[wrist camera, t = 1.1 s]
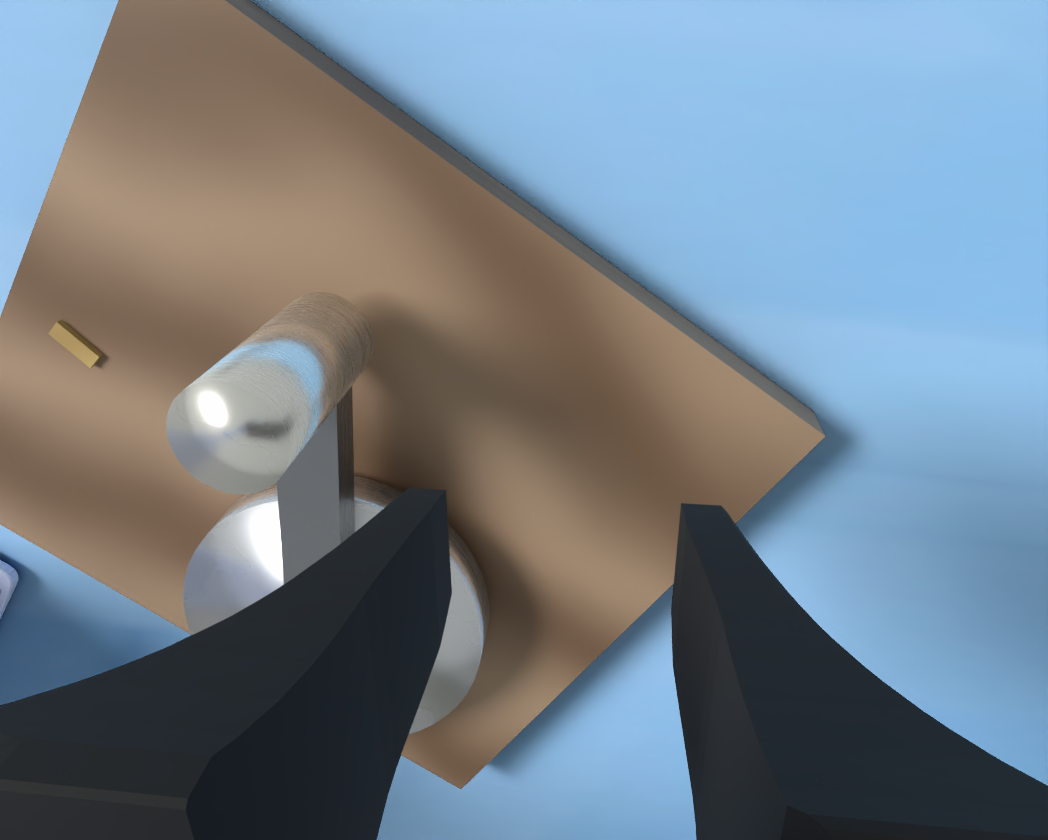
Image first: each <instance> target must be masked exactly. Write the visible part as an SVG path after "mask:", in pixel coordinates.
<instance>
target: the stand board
mask: <svg viewBox="0 0 1048 840" xmlns="http://www.w3.org/2000/svg"><path fill="white" fill-rule="evenodd" d="M313 292H326V293H332V294H335V295H338V296H340V297H342V298H344V299H346V300H348V301H349V302H351V303H352V304H353V305H355V306H356V307H357V308H358V309H359V310H360V311H361V313H362V314H363V315H364V317H365V318H366V320H367V322H368V324H369V326H370V328H371V331H372V335H373V353H372V357H371V360H370V362H369V364H368V365H367V367H366V368H365V369H364V371H363V372H362V373H361V375H360V376H359V377H358V378H357V380H356V381H355V382H354V384H353V385H352V398H353V451H354V476H359V477H364V478H367V479H370V480H374V481H377V482H380V483H383V484H386V485H388V486H390V487H393V488H395V489H397V490H400V491H402V492H404V491H406V490H407V489H408V488H420V489H438V490H446V499H447V516H448V524H449V525H450V526H451V527H452V528H453V530H454V531H455V532H456V533H457V534H458V535H459V536H460V538H461V539H462V540H463V541H464V543H465V544H466V546H467V547H468V549H469V550H470V552H471V553H472V555H473V556H474V558H475V560H476V562H477V564H478V566H479V568H480V570H481V572H482V575H483V578H484V582H485V585H486V588H487V594H488V600H489V623H488V629H487V634H486V639H485V643H484V647H483V651H482V655H481V660H480V664H479V668H478V671H477V674H476V677H475V679H474V682H473V684H472V686H471V687H470V689H469V691H468V693H467V695H466V696H465V697H464V698H463V699H462V701H461V702H460V703H459V704H458V706H457V707H456V708H454V709H453V710H452V711H451V712H450V713H449V714H448V715H447V716H445V717H444V718H442V719H441V720H439V721H438V722H436V723H435V724H433V725H431V726H429V727H427V728H425V729H423V730H421V731H418V732H415V733H412V734H409V735H408V737H407V740H406V743H405V745H404V748H403V751H402V754H401V755H402V756H404V757H406V758H407V759H409V760H411V761H413V762H414V763H416V764H418V765H420V766H421V767H423V768H425V769H426V770H428V771H430V772H432V773H433V774H435V775H437V776H439V777H440V778H442V779H444V780H446V781H447V782H449V783H451V784H453V785H454V786H456V787H458V788H460V789H462V788H463V787H464V786H465V785H466V784H467V783H468V782H469V781H470V780H471V779H472V778H473V777H474V776H475V775H476V774H477V773H478V772H479V771H481V770H482V769H483V768H484V767H485V766H486V765H487V764H488V763H489V762H490V761H491V760H492V759H493V758H494V757H495V756H496V755H497V754H498V753H499V752H500V751H501V750H502V749H503V748H504V747H505V746H506V745H507V744H508V743H509V742H510V741H511V740H513V739H514V738H515V737H516V736H517V735H518V734H519V733H520V732H521V731H522V730H523V729H524V728H525V727H526V726H527V725H528V724H529V723H530V722H531V721H532V720H533V719H534V718H535V717H536V716H537V715H538V714H539V713H540V712H541V711H542V710H544V709H545V708H546V707H547V706H548V705H549V704H550V703H551V702H552V701H553V700H554V699H555V698H556V697H557V696H558V695H559V694H560V693H561V692H562V691H563V690H564V689H565V688H566V687H567V686H568V685H569V684H570V683H571V682H572V681H573V680H574V679H576V678H577V677H578V676H579V675H580V674H581V673H582V672H583V671H584V670H585V669H586V668H587V667H588V666H589V665H590V664H591V663H592V662H593V661H594V660H595V659H596V658H597V657H598V656H599V655H600V654H601V653H602V652H603V651H604V650H605V649H606V648H608V647H609V646H610V645H611V644H612V643H613V642H614V641H615V640H616V639H617V638H618V637H619V636H620V635H621V634H622V633H623V632H624V631H625V630H626V629H627V628H628V627H629V626H630V625H631V624H632V623H633V622H634V621H635V620H636V619H637V618H638V617H640V616H641V615H642V614H643V613H644V612H645V611H646V610H647V609H648V608H649V607H650V606H651V605H652V604H653V603H654V602H655V601H656V600H657V599H658V598H659V597H660V596H661V595H662V594H663V593H664V592H665V591H666V590H667V589H668V588H669V587H670V586H672V585H673V584H674V574H675V564H676V553H677V542H678V531H679V521H680V510H681V503H686V504H704V505H721V506H722V507H723V508H724V509H725V510H726V511H727V512H728V514H729V515H730V517H731V518H732V520H733V521H734V523H735V524H736V523H737V522H738V521H739V520H740V519H741V518H742V517H743V516H744V515H745V514H746V513H747V512H748V511H749V510H750V509H751V508H752V507H753V506H754V505H755V504H756V503H757V502H758V501H759V500H760V499H761V498H762V497H763V496H764V495H765V494H766V493H768V492H769V491H770V490H771V489H772V488H773V487H774V486H775V485H776V484H777V483H778V482H779V481H780V480H781V479H782V478H783V477H784V476H785V475H786V474H787V473H788V472H789V471H790V470H791V469H792V468H793V467H794V466H795V465H796V464H797V463H798V462H800V461H801V460H802V459H803V458H804V457H805V456H806V455H807V454H808V453H809V452H810V451H811V450H812V449H813V448H814V447H815V446H816V445H817V444H818V443H819V442H820V441H821V440H822V439H823V438H824V437H825V434H824V432H823V430H822V428H821V426H820V424H819V422H818V420H817V417H816V415H815V413H814V412H813V411H812V410H811V409H809V408H808V407H807V406H805V405H804V404H802V403H801V402H800V401H798V400H797V399H796V398H794V397H793V396H791V395H790V394H789V393H787V392H786V391H785V390H783V389H782V388H781V387H779V386H778V385H776V384H775V383H774V382H772V381H771V380H770V379H768V378H767V377H765V376H764V375H763V374H761V373H760V372H759V371H757V370H756V369H755V368H753V367H752V366H750V365H749V364H748V363H746V362H745V361H744V360H742V359H741V358H739V357H738V356H737V355H735V354H734V353H733V352H731V351H730V350H729V349H727V348H726V347H724V346H723V345H722V344H720V343H719V342H718V341H716V340H715V339H713V338H712V337H711V336H709V335H708V334H707V333H705V332H704V331H703V330H701V329H700V328H698V327H697V326H696V325H694V324H693V323H692V322H690V321H689V320H687V319H686V318H685V317H683V316H682V315H681V314H679V313H678V312H676V311H675V310H674V309H672V308H671V307H670V306H668V305H667V304H666V303H664V302H663V301H661V300H660V299H659V298H657V297H656V296H655V295H653V294H652V293H650V292H649V291H648V290H646V289H645V288H644V287H642V286H641V285H640V284H638V283H637V282H635V281H634V280H633V279H631V278H630V277H629V276H627V275H626V274H624V273H623V272H622V271H620V270H619V269H618V268H616V267H615V266H614V265H612V264H611V263H609V262H608V261H607V260H605V259H604V258H603V257H601V256H600V255H598V254H597V253H596V252H594V251H593V250H592V249H590V248H589V247H588V246H586V245H585V244H583V243H582V242H581V241H579V240H578V239H577V238H575V237H574V236H572V235H571V234H570V233H568V232H567V231H566V230H564V229H563V228H561V227H560V226H559V225H557V224H556V223H555V222H553V221H552V220H551V219H549V218H548V217H546V216H545V215H544V214H542V213H541V212H540V211H538V210H537V209H535V208H534V207H533V206H531V205H530V204H529V203H527V202H526V201H525V200H523V199H522V198H520V197H519V196H518V195H516V194H515V193H514V192H512V191H511V190H509V189H508V188H507V187H505V186H504V185H503V184H501V183H500V182H499V181H497V180H496V179H494V178H493V177H492V176H490V175H489V174H488V173H486V172H485V171H483V170H482V169H481V168H479V167H478V166H477V165H475V164H474V163H473V162H471V161H470V160H468V159H467V158H466V157H464V156H463V155H462V154H460V153H459V152H457V151H456V150H455V149H453V148H452V147H451V146H449V145H448V144H447V143H445V142H444V141H442V140H441V139H440V138H438V137H437V136H436V135H434V134H433V133H431V132H430V131H429V130H427V129H426V128H425V127H423V126H422V125H420V124H419V123H418V122H416V121H415V120H414V119H412V118H411V117H410V116H408V115H407V114H405V113H404V112H403V111H401V110H400V109H399V108H397V107H396V106H394V105H393V104H392V103H390V102H389V101H388V100H386V99H385V98H384V97H382V96H381V95H379V94H378V93H377V92H375V91H374V90H373V89H371V88H370V87H368V86H367V85H366V84H364V83H363V82H362V81H360V80H359V79H358V78H356V77H355V76H353V75H352V74H351V73H349V72H348V71H347V70H345V69H344V68H342V67H341V66H340V65H338V64H337V63H336V62H334V61H333V60H332V59H330V58H329V57H327V56H326V55H325V54H323V53H322V52H321V51H319V50H318V49H316V48H315V47H314V46H312V45H311V44H310V43H308V42H307V41H305V40H304V39H303V38H301V37H300V36H299V35H297V34H296V33H295V32H293V31H292V30H290V29H289V28H288V27H286V26H285V25H284V24H282V23H281V22H279V21H278V20H277V19H275V18H274V17H273V16H271V15H270V14H269V13H267V12H266V11H264V10H263V9H262V8H260V7H259V6H258V5H256V4H255V3H253V2H252V1H251V0H119V1H118V4H117V6H116V9H115V12H114V14H113V17H112V20H111V22H110V25H109V28H108V30H107V33H106V36H105V39H104V41H103V44H102V47H101V49H100V52H99V55H98V57H97V60H96V63H95V65H94V68H93V71H92V73H91V76H90V79H89V81H88V84H87V87H86V89H85V92H84V95H83V97H82V100H81V103H80V105H79V108H78V111H77V113H76V116H75V119H74V121H73V124H72V127H71V129H70V132H69V135H68V137H67V140H66V143H65V145H64V148H63V151H62V154H61V156H60V159H59V162H58V164H57V167H56V170H55V172H54V175H53V178H52V180H51V183H50V186H49V188H48V191H47V194H46V196H45V199H44V202H43V204H42V207H41V210H40V212H39V215H38V218H37V220H36V223H35V226H34V228H33V231H32V234H31V236H30V239H29V242H28V244H27V247H26V250H25V252H24V255H23V258H22V260H21V263H20V266H19V268H18V271H17V274H16V277H15V279H14V282H13V285H12V287H11V290H10V293H9V295H8V298H7V301H6V303H5V306H4V309H3V311H2V314H1V317H0V525H2V526H4V527H6V528H7V529H9V530H11V531H13V532H14V533H16V534H18V535H19V536H21V537H23V538H25V539H26V540H28V541H30V542H32V543H33V544H35V545H37V546H39V547H40V548H42V549H44V550H46V551H47V552H49V553H51V554H53V555H54V556H56V557H58V558H60V559H61V560H63V561H65V562H66V563H68V564H70V565H72V566H73V567H75V568H77V569H79V570H80V571H82V572H84V573H86V574H87V575H89V576H91V577H93V578H94V579H96V580H98V581H100V582H101V583H103V584H105V585H106V586H108V587H110V588H112V589H113V590H115V591H117V592H119V593H120V594H122V595H124V596H126V597H127V598H129V599H131V600H133V601H134V602H136V603H138V604H140V605H141V606H143V607H145V608H146V609H148V610H150V611H152V612H153V613H155V614H157V615H159V616H160V617H162V618H164V619H166V620H167V621H169V622H171V623H173V624H174V625H176V626H178V627H180V628H181V629H183V630H185V631H186V632H188V633H190V630H189V627H188V625H187V620H186V616H185V611H184V601H183V589H184V579H185V575H186V572H187V568H188V564H189V562H190V560H191V558H192V556H193V554H194V552H195V550H196V549H197V547H198V546H199V545H200V543H201V542H202V540H203V539H204V538H205V537H206V535H207V534H208V533H209V532H210V531H211V529H212V528H213V527H214V526H215V525H216V523H217V522H218V521H219V520H220V519H221V517H222V516H223V515H224V514H225V513H226V511H227V510H228V509H229V508H230V507H231V506H232V505H233V504H234V503H235V502H236V501H237V500H238V499H239V498H241V497H242V496H244V495H245V494H231V493H226V492H222V491H219V490H216V489H214V488H212V487H209V486H208V485H206V484H204V483H202V482H201V481H199V480H198V479H196V478H195V477H194V476H193V475H191V474H190V473H189V472H188V471H187V470H186V469H185V468H184V467H183V466H182V464H181V463H180V462H179V461H178V459H177V457H176V456H175V454H174V452H173V450H172V448H171V446H170V443H169V440H168V436H167V431H166V419H167V414H168V410H169V408H170V405H171V403H172V402H173V400H174V399H175V398H176V396H177V395H178V394H179V393H180V392H182V391H183V390H184V389H185V388H187V387H188V386H189V385H190V384H192V383H193V382H194V381H195V380H196V379H198V378H199V377H200V376H201V375H203V374H204V373H205V372H206V371H208V370H209V369H210V368H211V367H213V366H214V365H215V364H216V363H217V362H219V361H220V360H221V359H222V358H224V357H225V356H226V355H227V354H229V353H230V352H231V351H232V350H234V349H235V348H236V347H237V346H238V345H240V344H241V343H242V342H243V341H245V340H246V339H247V338H248V337H250V336H251V335H252V334H253V333H255V332H256V331H257V330H258V329H259V328H261V327H262V326H263V325H264V324H266V323H267V322H268V321H269V320H271V319H272V318H273V317H274V316H275V315H277V314H278V313H279V312H280V311H282V310H283V309H284V308H285V307H287V306H288V305H289V304H290V303H292V302H293V301H294V300H295V299H297V298H298V297H300V296H302V295H305V294H308V293H313ZM190 634H191V633H190Z"/></svg>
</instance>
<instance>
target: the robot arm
mask: <svg viewBox="0 0 1048 840" xmlns="http://www.w3.org/2000/svg"><path fill="white" fill-rule="evenodd" d="M18 579H19V577H18V574H17V572H16V570H15V569H14V568H13V567H11V566H10V565H8V564H7V563H5V562H3V561H1V560H0V619H1V617H2V614H3V612H4V610H5V608H6V606H7V604H8V602H9V600H10V598H11V595H12V593H13V591H14V589H15V587H16V585H17V583H18ZM451 596H452V584H451V567H450V550H449V533H448V516H447V499H446V490H438V489H420V488H408V489H407V490H406V491H404V492H403V493H402V494H401V495H399V496H398V497H397V498H396V499H394V500H393V501H392V502H391V503H390V504H388V505H387V506H386V507H385V508H384V509H383V510H381V511H380V512H379V513H378V514H377V515H375V516H374V517H373V518H372V519H371V520H369V521H368V522H367V523H366V524H365V525H363V526H362V527H361V528H360V529H358V530H357V531H356V532H355V533H353V534H352V535H351V536H350V537H348V538H347V539H346V540H345V541H343V542H342V543H341V544H340V545H338V546H337V547H336V548H335V549H333V550H332V551H330V552H329V553H328V554H326V555H325V556H323V557H322V558H321V559H319V560H318V561H316V562H315V563H314V564H312V565H311V566H310V567H308V568H307V569H305V570H304V571H303V572H301V573H300V574H298V575H297V576H296V577H294V578H293V579H291V580H290V581H288V582H287V583H285V584H284V585H282V586H281V587H279V588H278V589H276V590H274V591H273V592H271V593H270V594H268V595H266V596H265V597H263V598H261V599H260V600H258V601H256V602H255V603H253V604H251V605H249V606H248V607H246V608H244V609H242V610H241V611H239V612H237V613H235V614H234V615H232V616H230V617H228V618H226V619H224V620H222V621H220V622H218V623H216V624H214V625H212V626H210V627H208V628H206V629H204V630H202V631H200V632H198V633H196V634H193V635H191V636H189V637H187V638H185V639H183V640H181V641H179V642H177V643H175V644H173V645H171V646H169V647H166V648H164V649H162V650H159V651H157V652H155V653H152V654H150V655H147V656H145V657H143V658H140V659H138V660H135V661H133V662H130V663H128V664H125V665H122V666H120V667H117V668H114V669H112V670H109V671H107V672H104V673H101V674H98V675H96V676H93V677H90V678H87V679H84V680H81V681H79V682H75V683H72V684H69V685H66V686H63V687H59V688H56V689H53V690H50V691H47V692H43V693H40V694H37V695H34V696H31V697H27V698H24V699H21V700H18V701H15V702H11V703H7V704H4V705H0V840H376V839H377V836H378V832H379V828H380V824H381V820H382V816H383V812H384V808H385V804H386V800H387V796H388V793H389V789H390V786H391V783H392V780H393V777H394V774H395V771H396V767H397V765H398V762H399V759H400V756H401V754H402V751H403V748H404V745H405V743H406V740H407V737H408V735H409V732H410V729H411V726H412V724H413V721H414V718H415V716H416V713H417V710H418V707H419V705H420V702H421V699H422V696H423V694H424V691H425V688H426V685H427V683H428V680H429V677H430V674H431V672H432V669H433V666H434V663H435V660H436V658H437V655H438V652H439V649H440V646H441V641H442V637H443V633H444V628H445V624H446V619H447V615H448V610H449V605H450V600H451ZM671 615H672V650H673V669H674V676H675V683H676V689H677V696H678V703H679V710H680V716H681V723H682V729H683V736H684V742H685V749H686V755H687V762H688V768H689V775H690V782H691V788H692V795H693V804H694V813H695V822H696V838H697V840H1048V786H1047V785H1045V784H1043V783H1042V782H1040V781H1038V780H1036V779H1034V778H1032V777H1030V776H1029V775H1027V774H1025V773H1023V772H1021V771H1019V770H1017V769H1015V768H1014V767H1012V766H1010V765H1008V764H1006V763H1004V762H1003V761H1001V760H999V759H997V758H996V757H994V756H992V755H991V754H989V753H987V752H986V751H984V750H983V749H981V748H979V747H978V746H976V745H975V744H973V743H971V742H970V741H968V740H967V739H965V738H963V737H962V736H960V735H959V734H957V733H955V732H954V731H952V730H950V729H949V728H947V727H946V726H944V725H943V724H942V723H940V722H939V721H937V720H936V719H934V718H933V717H931V716H930V715H928V714H927V713H925V712H924V711H922V710H921V709H919V708H918V707H917V706H915V705H914V704H913V703H911V702H910V701H909V700H907V699H906V698H905V697H903V696H902V695H900V694H899V693H898V692H896V691H895V690H894V689H892V688H891V687H890V686H888V685H887V684H886V683H884V682H883V681H882V680H880V679H879V678H878V677H877V676H875V675H874V674H873V673H872V672H870V671H869V670H868V669H867V668H866V667H864V666H863V665H862V664H861V663H860V662H859V661H857V660H856V659H855V658H854V657H853V656H852V655H851V654H849V653H848V652H847V651H846V650H845V649H844V648H843V647H841V646H840V645H839V644H838V643H837V642H836V641H835V640H834V639H832V638H831V637H830V636H829V635H828V634H827V633H826V632H825V631H824V630H823V629H822V628H821V627H820V626H819V625H818V624H817V623H816V622H815V621H814V620H813V619H812V618H811V617H810V616H809V615H808V614H807V612H806V611H805V610H804V609H803V608H802V607H801V606H800V605H799V604H798V603H797V602H796V601H795V599H794V598H793V597H792V596H791V595H790V594H789V593H788V592H787V590H786V589H785V588H784V587H783V585H782V584H781V583H780V582H779V581H778V579H777V578H776V577H775V576H774V575H773V573H772V572H771V571H770V570H769V569H768V567H767V566H766V565H765V564H764V562H763V561H762V560H761V558H760V557H759V556H758V555H757V553H756V552H755V551H754V549H753V548H752V546H751V545H750V544H749V542H748V541H747V540H746V538H745V537H744V536H743V534H742V533H741V531H740V530H739V528H738V527H737V526H736V524H735V523H734V521H733V520H732V518H731V517H730V515H729V514H728V512H727V511H726V510H725V509H724V508H723V507H722V506H721V505H704V504H686V503H681V510H680V521H679V531H678V542H677V553H676V564H675V574H674V585H673V596H672V607H671Z"/></svg>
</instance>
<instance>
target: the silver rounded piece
mask: <svg viewBox="0 0 1048 840" xmlns="http://www.w3.org/2000/svg"><path fill="white" fill-rule="evenodd" d="M372 353H373V335H372V331H371V328H370V326H369V324H368V322H367V320H366V318H365V317H364V315H363V314H362V313H361V311H360V310H359V309H358V308H357V307H356V306H355V305H353V304H352V303H351V302H349V301H348V300H346V299H344V298H342V297H340V296H338V295H335V294H332V293H326V292H313V293H308V294H305V295H302V296H300V297H298V298H297V299H295V300H294V301H293V302H292V303H290V304H289V305H288V306H287V307H285V308H284V309H283V310H282V311H280V312H279V313H278V314H277V315H275V316H274V317H273V318H272V319H271V320H269V321H268V322H267V323H266V324H264V325H263V326H262V327H261V328H259V329H258V330H257V331H256V332H255V333H253V334H252V335H251V336H250V337H248V338H247V339H246V340H245V341H243V342H242V343H241V344H240V345H238V346H237V347H236V348H235V349H234V350H232V351H231V352H230V353H229V354H227V355H226V356H225V357H224V358H222V359H221V360H220V361H219V362H217V363H216V364H215V365H214V366H213V367H211V368H210V369H209V370H208V371H206V372H205V373H204V374H203V375H201V376H200V377H199V378H198V379H196V380H195V381H194V382H193V383H192V384H190V385H189V386H188V387H187V388H185V389H184V390H183V391H182V392H180V393H179V394H178V395H177V396H176V398H175V399H174V400H173V402H172V403H171V405H170V408H169V410H168V414H167V419H166V431H167V436H168V440H169V443H170V446H171V448H172V450H173V452H174V454H175V456H176V457H177V459H178V461H179V462H180V463H181V464H182V466H183V467H184V468H185V469H186V470H187V471H188V472H189V473H190V474H191V475H193V476H194V477H195V478H196V479H198V480H199V481H201V482H202V483H204V484H206V485H208V486H209V487H212V488H214V489H216V490H219V491H222V492H226V493H231V494H245V495H244V496H242V497H241V498H239V499H238V500H237V501H236V502H235V503H234V504H233V505H232V506H231V507H230V508H229V509H228V510H227V511H226V513H225V514H224V515H223V516H222V517H221V519H220V520H219V521H218V522H217V523H216V525H215V526H214V527H213V528H212V529H211V531H210V532H209V533H208V534H207V535H206V537H205V538H204V539H203V540H202V542H201V543H200V545H199V546H198V547H197V549H196V550H195V552H194V554H193V556H192V558H191V560H190V562H189V564H188V568H187V572H186V575H185V579H184V589H183V601H184V611H185V616H186V620H187V625H188V627H189V630H190V633H191V635H193V634H196V633H198V632H200V631H202V630H204V629H206V628H208V627H210V626H212V625H214V624H216V623H218V622H220V621H222V620H224V619H226V618H228V617H230V616H232V615H234V614H235V613H237V612H239V611H241V610H242V609H244V608H246V607H248V606H249V605H251V604H253V603H255V602H256V601H258V600H260V599H261V598H263V597H265V596H266V595H268V594H270V593H271V592H273V591H274V590H276V589H278V588H279V587H281V586H282V585H284V584H285V583H287V582H288V581H290V580H291V579H293V578H294V577H296V576H297V575H298V574H300V573H301V572H303V571H304V570H305V569H307V568H308V567H310V566H311V565H312V564H314V563H315V562H316V561H318V560H319V559H321V558H322V557H323V556H325V555H326V554H328V553H329V552H330V551H332V550H333V549H335V548H336V547H337V546H338V545H340V544H341V543H342V542H343V541H345V540H346V539H347V538H348V537H350V536H351V535H352V534H353V533H355V532H356V531H357V530H358V529H360V528H361V527H362V526H363V525H365V524H366V523H367V522H368V521H369V520H371V519H372V518H373V517H374V516H375V515H377V514H378V513H379V512H380V511H381V510H383V509H384V508H385V507H386V506H387V505H388V504H390V503H391V502H392V501H393V500H394V499H396V498H397V497H398V496H399V495H401V494H402V493H403V492H402V491H400V490H397V489H395V488H393V487H390V486H388V485H386V484H383V483H380V482H377V481H374V480H370V479H367V478H364V477H359V476H354V451H353V398H352V385H353V384H354V382H355V381H356V380H357V378H358V377H359V376H360V375H361V373H362V372H363V371H364V369H365V368H366V367H367V365H368V364H369V362H370V360H371V357H372ZM448 533H449V550H450V567H451V584H452V596H451V600H450V605H449V610H448V615H447V619H446V624H445V628H444V633H443V637H442V641H441V646H440V649H439V652H438V655H437V658H436V660H435V663H434V666H433V669H432V672H431V674H430V677H429V680H428V683H427V685H426V688H425V691H424V694H423V696H422V699H421V702H420V705H419V707H418V710H417V713H416V716H415V718H414V721H413V724H412V726H411V729H410V732H409V734H412V733H415V732H418V731H421V730H423V729H425V728H427V727H429V726H431V725H433V724H435V723H436V722H438V721H439V720H441V719H442V718H444V717H445V716H447V715H448V714H449V713H450V712H451V711H452V710H453V709H454V708H456V707H457V706H458V704H459V703H460V702H461V701H462V699H463V698H464V697H465V696H466V695H467V693H468V691H469V689H470V687H471V686H472V684H473V682H474V679H475V677H476V674H477V671H478V668H479V664H480V660H481V655H482V651H483V647H484V643H485V639H486V634H487V629H488V623H489V600H488V594H487V588H486V585H485V582H484V578H483V575H482V572H481V570H480V568H479V566H478V564H477V562H476V560H475V558H474V556H473V555H472V553H471V552H470V550H469V549H468V547H467V546H466V544H465V543H464V541H463V540H462V539H461V538H460V536H459V535H458V534H457V533H456V532H455V531H454V530H453V528H452V527H451V526H450V525H449V524H448Z"/></svg>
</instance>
